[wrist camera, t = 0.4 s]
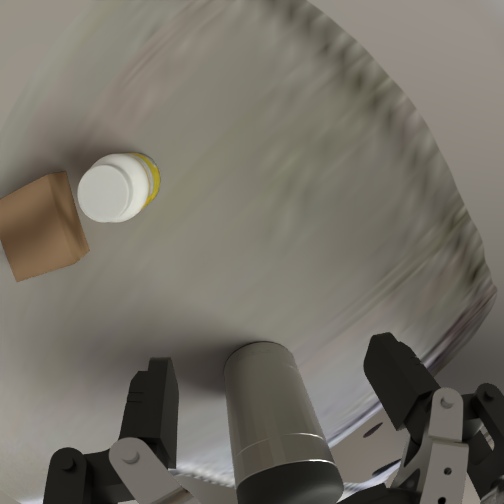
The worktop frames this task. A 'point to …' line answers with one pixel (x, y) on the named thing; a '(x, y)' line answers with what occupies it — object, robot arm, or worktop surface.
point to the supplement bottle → (118, 186)
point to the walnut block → (41, 227)
